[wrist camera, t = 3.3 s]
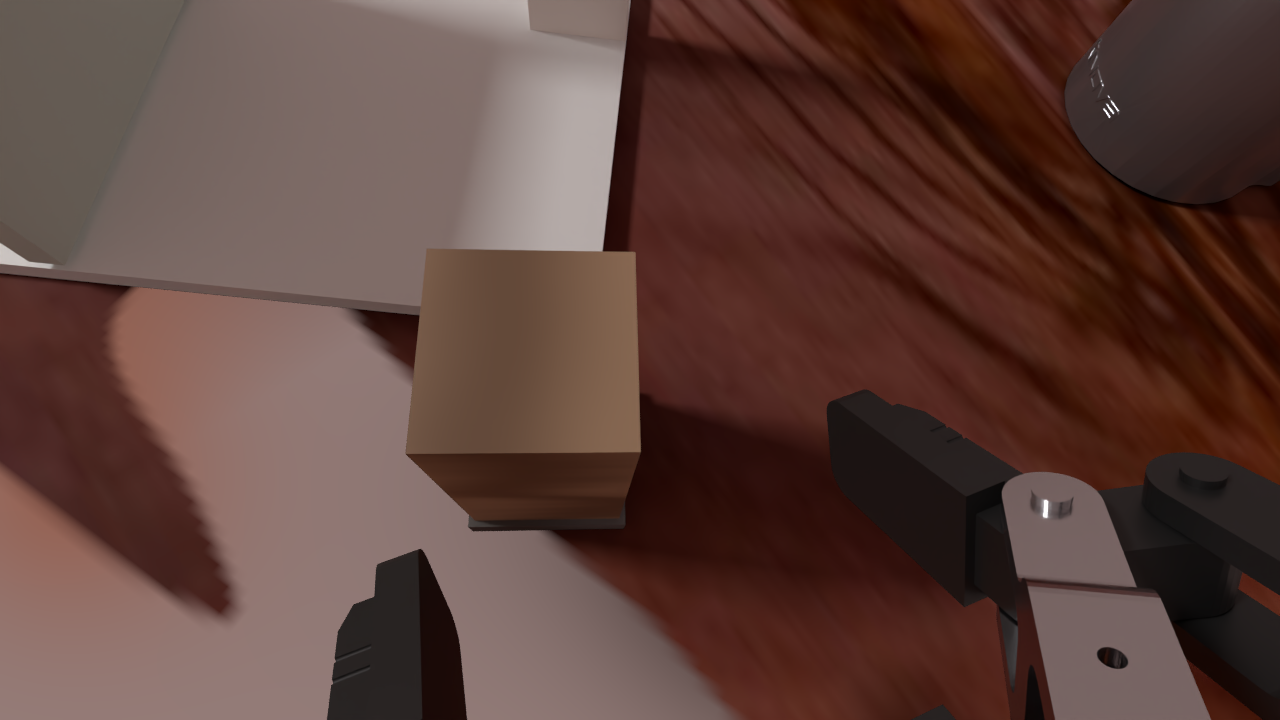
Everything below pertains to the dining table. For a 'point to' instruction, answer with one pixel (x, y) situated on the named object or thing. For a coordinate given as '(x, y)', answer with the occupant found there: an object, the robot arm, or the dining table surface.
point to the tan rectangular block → (528, 386)
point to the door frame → (356, 147)
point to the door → (67, 109)
